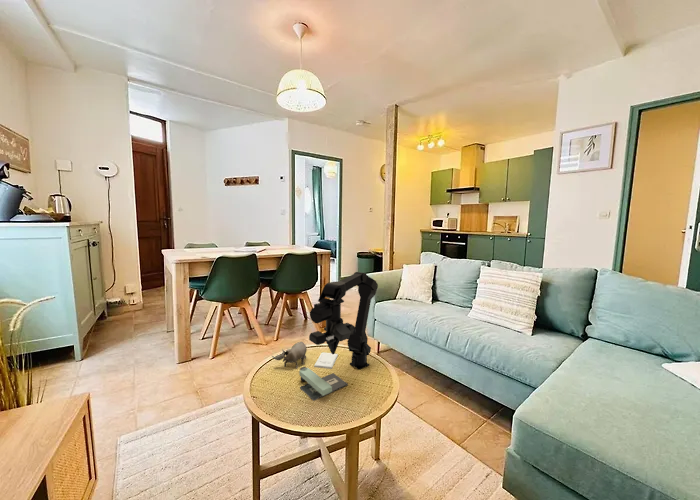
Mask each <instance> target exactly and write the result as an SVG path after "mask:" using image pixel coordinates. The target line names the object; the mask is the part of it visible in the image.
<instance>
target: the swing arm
mask: <svg viewBox="0 0 700 500" xmlns="http://www.w3.org/2000/svg"><path fill="white" fill-rule="evenodd" d="M298 373H299V376H300V378H301V377H302V378H303V379H304V380H305V382H307V384H308V383H309V384H310V385H311V386H312V387H313V388H315V389H316V390H317V391H318V392H319V393H320V394H321V395H323V396H324V395H326V394H328V393H330V392H332V386H331V385H329V384H328V383H327V382H326V381H324V380H323V379H322V377H321V376H319V375H318V374H317V373H316V372H315V371H313V370H312V369H310V368H309V367H306V366H303V367H300V368H299V372H298ZM332 393H333V392H332ZM330 394H331V393H330ZM328 395H329V394H328ZM326 396H327V395H326ZM324 397H325V396H324Z"/></svg>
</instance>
